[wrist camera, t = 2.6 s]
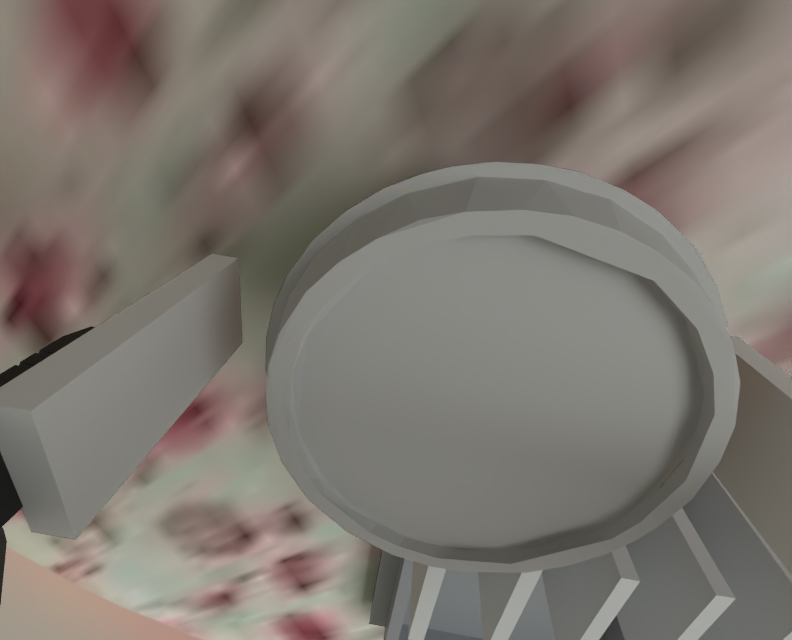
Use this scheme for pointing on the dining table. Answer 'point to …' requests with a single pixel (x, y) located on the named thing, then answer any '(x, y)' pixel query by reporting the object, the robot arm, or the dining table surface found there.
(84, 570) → the dining table surface
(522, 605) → the dish rack
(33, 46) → the dining table surface
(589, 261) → the disposable coffee cup
